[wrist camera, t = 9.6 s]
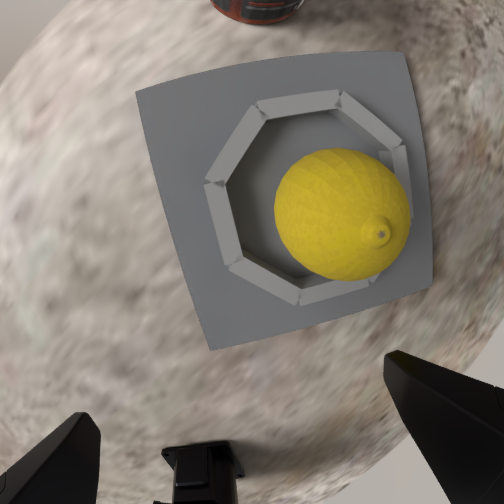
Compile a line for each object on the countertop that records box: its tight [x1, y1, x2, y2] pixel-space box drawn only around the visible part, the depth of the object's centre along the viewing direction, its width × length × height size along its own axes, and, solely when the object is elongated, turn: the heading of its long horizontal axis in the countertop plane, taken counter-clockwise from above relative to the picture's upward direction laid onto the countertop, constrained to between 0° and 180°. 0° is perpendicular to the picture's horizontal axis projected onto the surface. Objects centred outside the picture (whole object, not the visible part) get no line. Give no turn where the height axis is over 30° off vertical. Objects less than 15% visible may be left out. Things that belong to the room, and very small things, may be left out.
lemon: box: [274, 148, 411, 281], centre depth 13 cm, size 6×6×8 cm
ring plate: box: [135, 51, 433, 351], centre depth 17 cm, size 16×16×3 cm
